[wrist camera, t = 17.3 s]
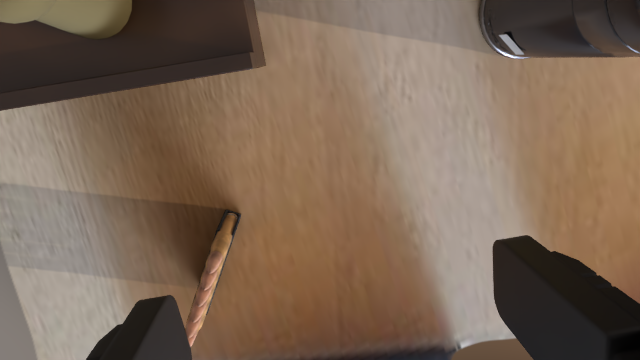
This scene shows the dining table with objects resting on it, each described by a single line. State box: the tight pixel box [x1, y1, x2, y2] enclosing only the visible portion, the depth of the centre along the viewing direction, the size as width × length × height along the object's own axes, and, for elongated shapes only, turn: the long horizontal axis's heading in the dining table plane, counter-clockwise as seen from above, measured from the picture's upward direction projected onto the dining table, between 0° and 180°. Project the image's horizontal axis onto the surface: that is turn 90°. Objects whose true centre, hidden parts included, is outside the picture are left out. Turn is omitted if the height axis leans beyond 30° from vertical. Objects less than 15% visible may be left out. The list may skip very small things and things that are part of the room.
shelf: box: [0, 0, 266, 111], centre depth 32 cm, size 14×22×13 cm, turn 99°
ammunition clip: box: [185, 210, 241, 347], centre depth 41 cm, size 11×2×12 cm, turn 159°
